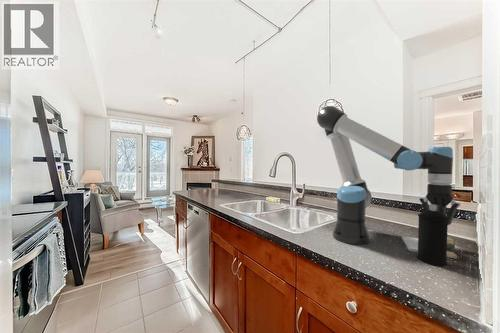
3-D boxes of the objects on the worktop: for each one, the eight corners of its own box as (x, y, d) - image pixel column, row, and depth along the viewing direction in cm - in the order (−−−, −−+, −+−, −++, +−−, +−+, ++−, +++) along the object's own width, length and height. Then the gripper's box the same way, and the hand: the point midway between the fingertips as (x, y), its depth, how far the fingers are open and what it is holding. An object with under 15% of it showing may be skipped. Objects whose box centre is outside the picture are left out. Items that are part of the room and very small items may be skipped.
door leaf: (432, 254, 79) (432, 245, 78) (421, 241, 92) (421, 233, 92) (459, 259, 75) (460, 249, 75) (444, 244, 88) (444, 236, 88)
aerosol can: (454, 267, 69) (455, 207, 68) (425, 265, 70) (427, 206, 70) (436, 256, 77) (438, 202, 77) (411, 254, 79) (413, 202, 78)
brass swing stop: (446, 243, 86) (446, 234, 86) (453, 247, 82) (454, 238, 82) (417, 242, 87) (418, 233, 87) (424, 245, 84) (424, 236, 83)
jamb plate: (409, 250, 82) (409, 248, 82) (401, 238, 95) (401, 236, 95) (432, 254, 79) (432, 252, 78) (421, 241, 92) (421, 238, 92)
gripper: (416, 182, 90) (414, 236, 91) (456, 186, 79) (454, 247, 80) (425, 181, 94) (423, 233, 95) (464, 185, 82) (462, 243, 83)
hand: (437, 239), depth 87 cm, fingers closed
